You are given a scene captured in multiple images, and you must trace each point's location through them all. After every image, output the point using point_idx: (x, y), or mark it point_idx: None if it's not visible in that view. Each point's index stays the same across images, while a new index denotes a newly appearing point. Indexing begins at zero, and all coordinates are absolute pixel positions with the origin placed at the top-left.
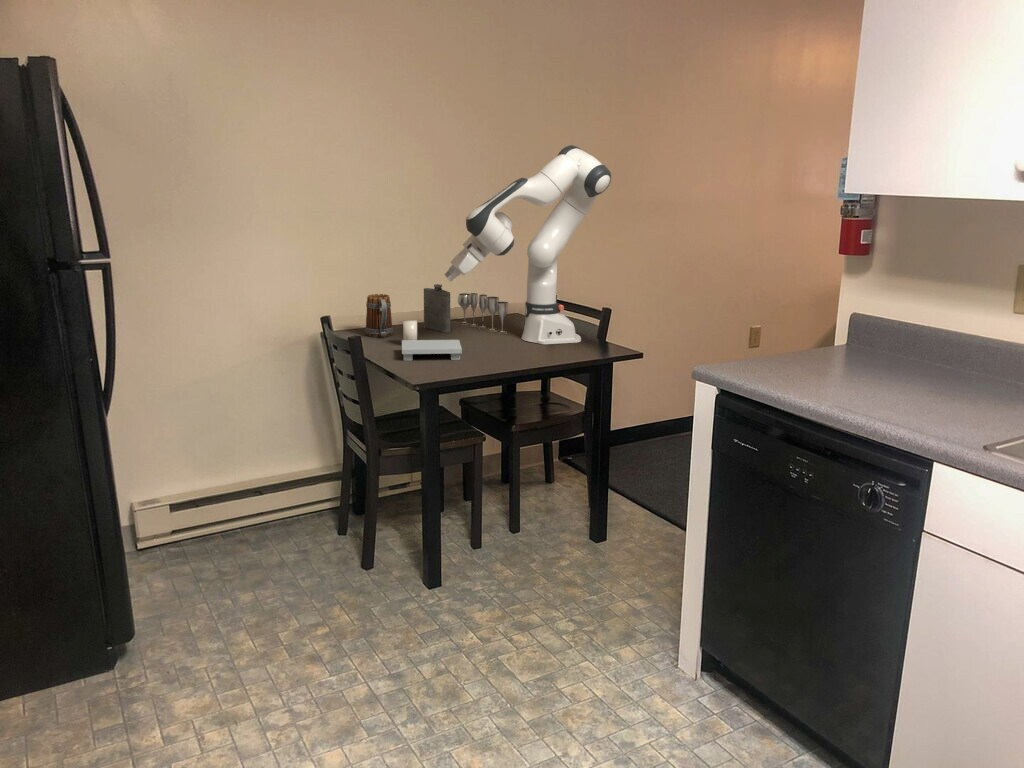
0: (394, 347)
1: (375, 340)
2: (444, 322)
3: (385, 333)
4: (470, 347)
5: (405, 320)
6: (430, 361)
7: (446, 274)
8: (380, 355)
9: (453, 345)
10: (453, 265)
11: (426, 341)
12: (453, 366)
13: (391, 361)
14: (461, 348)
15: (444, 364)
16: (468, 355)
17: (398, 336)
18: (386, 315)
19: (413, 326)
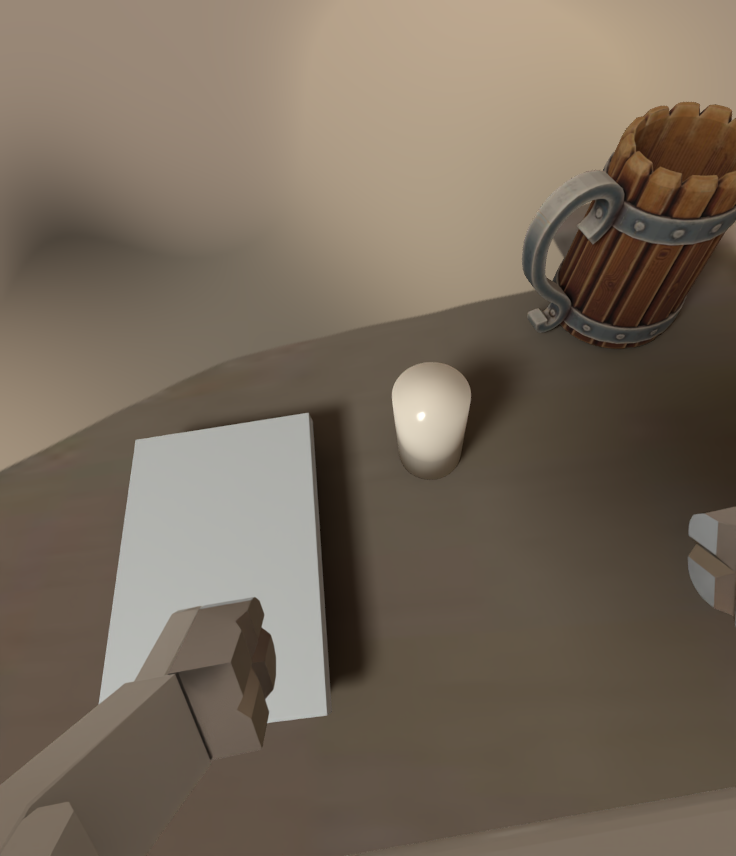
0: (386, 397)
1: (496, 314)
2: None
3: (535, 326)
4: (425, 784)
5: (443, 370)
6: None
7: (712, 539)
8: (258, 374)
9: None
10: (658, 800)
11: (282, 523)
12: (38, 690)
13: (168, 423)
14: None
15: (82, 641)
16: (235, 772)
17: (596, 377)
18: (532, 270)
19: (400, 426)
